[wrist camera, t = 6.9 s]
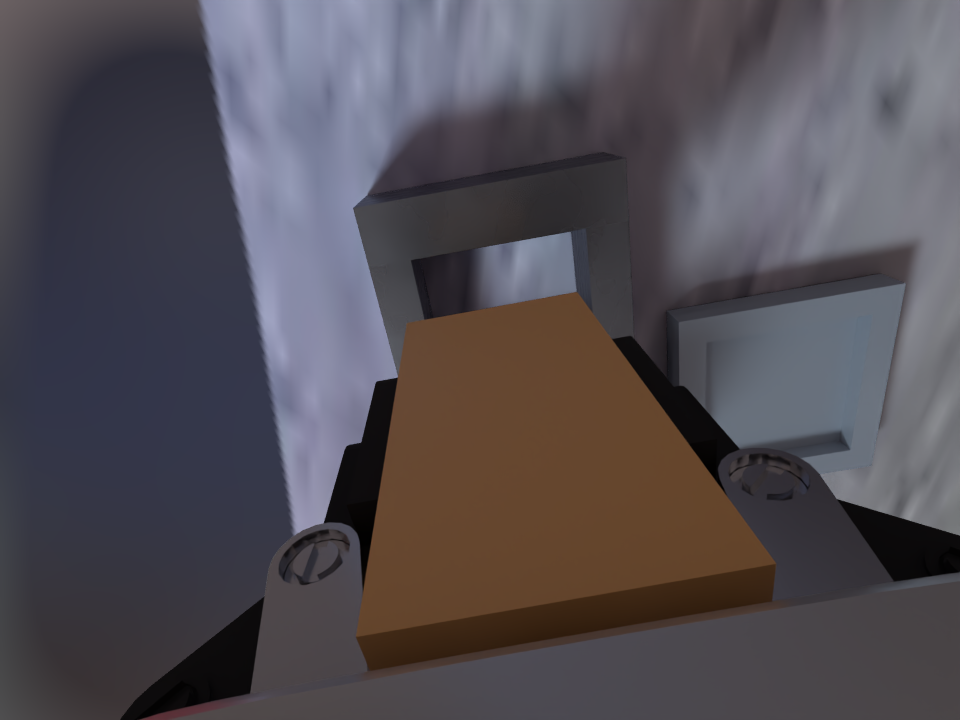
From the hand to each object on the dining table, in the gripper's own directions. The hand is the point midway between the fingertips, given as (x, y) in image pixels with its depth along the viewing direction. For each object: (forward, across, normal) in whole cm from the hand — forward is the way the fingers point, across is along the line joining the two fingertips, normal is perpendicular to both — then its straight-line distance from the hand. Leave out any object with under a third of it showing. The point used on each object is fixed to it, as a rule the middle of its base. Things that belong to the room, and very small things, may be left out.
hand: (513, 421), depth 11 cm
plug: (+2, 0, 0) cm, 2 cm away
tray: (+8, -11, +6) cm, 15 cm away
